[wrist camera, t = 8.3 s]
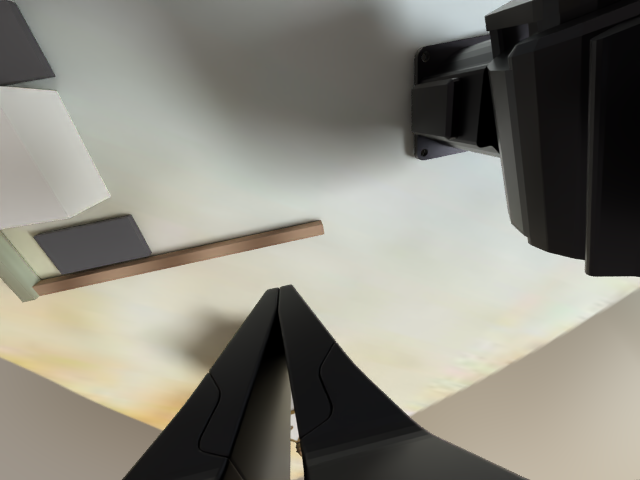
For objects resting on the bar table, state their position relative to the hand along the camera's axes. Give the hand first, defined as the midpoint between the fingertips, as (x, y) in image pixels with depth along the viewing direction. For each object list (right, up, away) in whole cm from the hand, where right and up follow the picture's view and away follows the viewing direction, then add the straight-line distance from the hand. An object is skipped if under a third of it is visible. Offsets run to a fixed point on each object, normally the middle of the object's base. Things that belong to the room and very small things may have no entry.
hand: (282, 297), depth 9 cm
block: (-16, +7, +7) cm, 18 cm away
